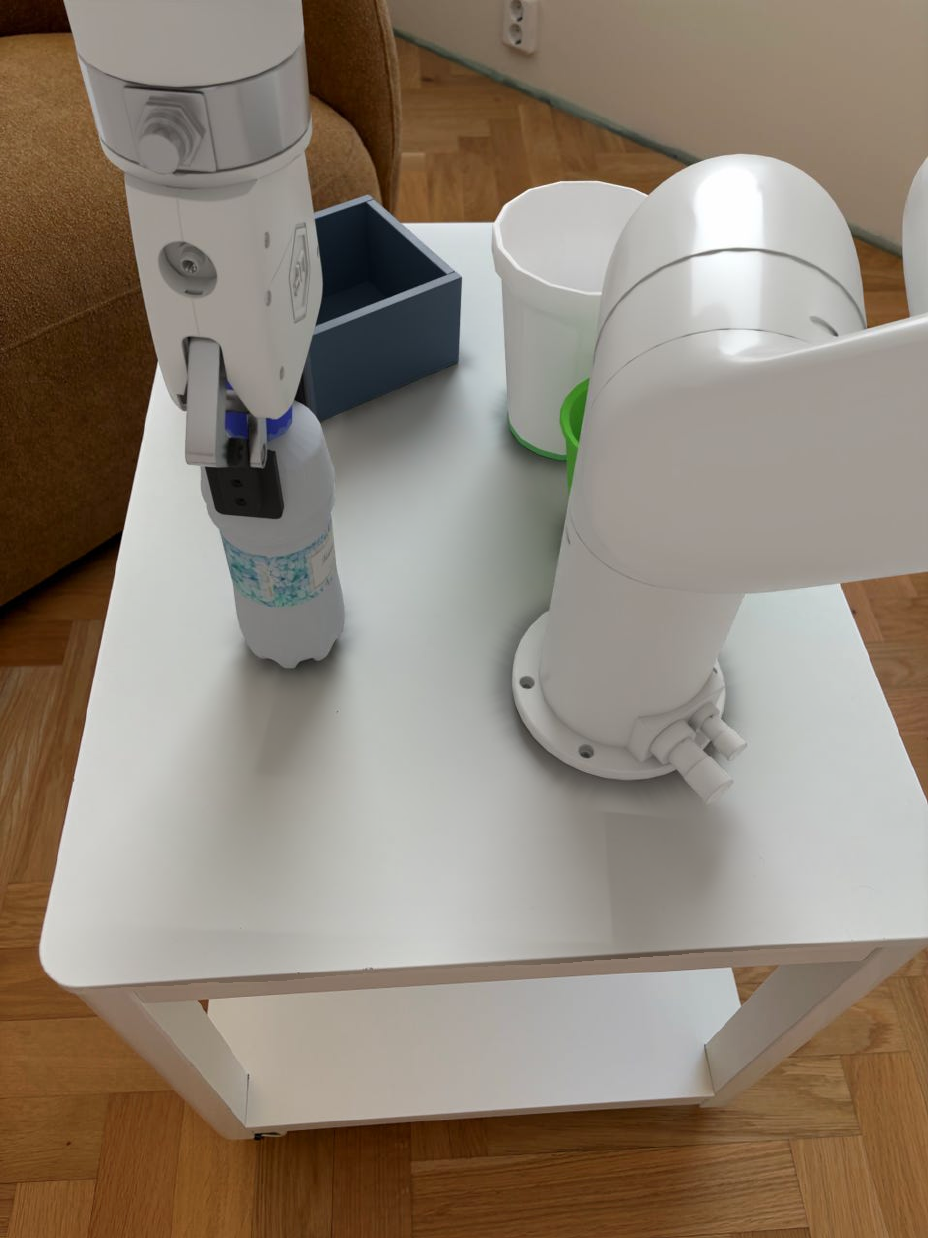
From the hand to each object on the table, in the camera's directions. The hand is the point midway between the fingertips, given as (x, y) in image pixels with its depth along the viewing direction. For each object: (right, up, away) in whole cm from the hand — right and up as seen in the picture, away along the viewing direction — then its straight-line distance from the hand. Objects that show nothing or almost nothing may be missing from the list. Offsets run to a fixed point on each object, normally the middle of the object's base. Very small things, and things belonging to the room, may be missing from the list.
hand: (264, 459), depth 49 cm
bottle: (-1, -9, +12) cm, 15 cm away
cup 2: (+19, -3, +18) cm, 26 cm away
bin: (+1, +13, +29) cm, 32 cm away
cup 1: (+17, +7, +25) cm, 31 cm away
